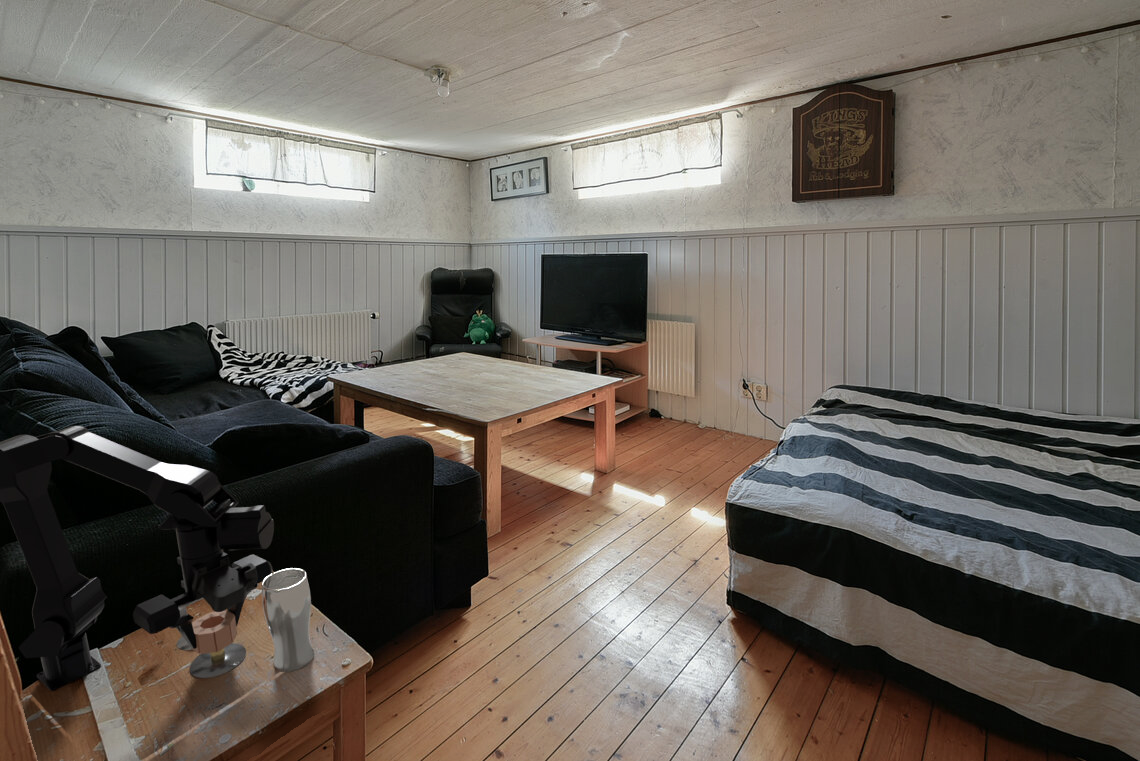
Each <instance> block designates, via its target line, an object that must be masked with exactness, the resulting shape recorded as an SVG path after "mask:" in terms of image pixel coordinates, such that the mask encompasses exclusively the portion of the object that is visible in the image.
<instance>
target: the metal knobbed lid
mask: <svg viewBox="0 0 1140 761" xmlns="http://www.w3.org/2000/svg"><path fill="white" fill-rule="evenodd" d="M176 648H177V649H179V650H180V651H181V650H183V651H191V650H193V649H192V648H191V647H190V645H189V644H188V643H187V641H186V640H185V639H184V637H183V636H182V635H181V636H180V638H179V639H178V640H177V641H176Z"/></svg>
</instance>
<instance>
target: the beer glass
mask: <svg viewBox="0 0 1140 761" xmlns="http://www.w3.org/2000/svg"><path fill="white" fill-rule="evenodd" d="M307 575H308V574H307V572H306V570H304V569H302V568H297V567H294V568H293V567H290V568H284V569H283V568H282V569H281V570H280V569H279V570H277V571H274V572H273V573H272V574H270V575H269V576H267V577H266V578H265V579H264V580H263V581H262V582H261V593H262V594H261V596H262V598H261V599H262V609H263V616H264V618H265V623H266V626H267V627H268V631H269V634H270V635H271V640H272V643H273V648H274V654H273V655H274V656H273V666H274V667H275V669H278V670H279V671H280V672H282V673H290V672H291V673H292V672H294V671H298V670H300V669H302V668H304V667H306V666H307V665H308V664H309V663H310V662H311V661H312V660H313V658H314V655H315V652H314V648H313V645H312V643H311V638H310V627H311V626H310V625H311V624H310V623H311V614H312V601H311V600H312V597H311V596H312V595H311V590H310V585H309V581H308V576H307Z"/></svg>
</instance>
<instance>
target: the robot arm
mask: <svg viewBox="0 0 1140 761" xmlns="http://www.w3.org/2000/svg"><path fill="white" fill-rule="evenodd" d="M56 460H64V461H66V462H69V463H71V464H74V465H76V466H79V467H81V468H84V469H86V470H88V471H91V472H92V473H93V472H94V473H95V474H98V475H101V476H103V477H106V478H108V479H111V480H113V481H116V482H118V483H121V484H124V485H125V486H128V487H131V488H133V489H136V490H139V491H140V492H141V493H143V494H145V495H146V496H147V497H148V498H149V500H150V501H151V502H152V504H153V505H154V506H156V508H159V510H162V511H164V512H166V513H167V514H168V516H167V517H166V519H165V520H164V521H163V522H162V523H161V524H159V527H158V528H159V530H163V531H165V530H175V532H176V533H175V535H176V540H177V545H178V551H179V556H178V557H176V561H177V564H178V565H179V566H181V571H182V577H183V580H181V581H180V585H181V588H183V589H184V590H185V592H184V593H182V594H179V595H177V596H176V597H173V598H171V599H170V598H169V597H167V596H165V595H164V594H159V595H157V596H154V597H153V598H150V599H148V600H144V601H143V602H141V603H138V604H137V605H136V606H135V607H134V610H133V612H132V617H133V621H134V622H133V623H134V624H136V626H139V627H140V628H141V629H142V630H144V631H145V632H146V633H148V634H150V635H154V634H158V633H159V632H162V631H164V630H166V629H168V628H170V629H176V630H177V631H178V632H179V634H180V635H181V637H182V636H183V637H184V639H185V640H186V641H187V643H188V644H189V645H190V647H191V648H193V649H195V648H197V644H196V637H195V634H194V630H193V626H192V623H193V622H194V619H195V618H194V616H192V614H191V615H190V614H189V613H188V610H187V608H188V606H191V605H193V604H195V603H196V602H199V601H201V600H205V602H206V603H207V604H208V605H209V606H210V607H211V609H212V611H213V612H222V611H225V610H226V611H229V612H231V613H233V614H234V615H235V621H236V628H237V627H238V624H239V620H240V617H241V614H242V610H243V607H244V605H245V604H244V603H245V600H246V598H247V596H248V595H249V594H250V593H252V591H254V590H255V589H257V588H258V586H259V584H260V583H262V582H263V580H264V579H265V578H266V577H267V576H269V575H270V574H272V573H274V572H273V571H274V570H273V566H272V564H271V562H270V561H269V560H266V559H264V558H262V557H259V556H258V555H255V554H254V553H253V554H250V555H248V556H245V557H243V558H240V559H239V560H237V561H234V562H232V564H231V563H230V558H229V556H228V553H226V552H224V550H225V551H228V552H229V551H243V550H244V551H245V550H247V551H249V550H250V551H251V550H265V549H268V548H269V547H270V545H271V543H272V542H273V537H274V532H275V520H274V518H272V515H271V513H270V512H268V511H266V506H265V505H264V504H263V505H261V504H260V505H259V504H258V505H253V506H246V507H244V506H240V507H239V506H238V507H236V506H237V505H238V504H239V501H238V500H237V498H236V497H235V496H233V494H231V493H230V491H229V490H227V489H226V488H225V487H224V486H223V485H222V484H221V483H220V481H219V479H218V478H219V477H218V475H217V474H215V473H214V472H212V471H210V470H207V469H204V468H200V467H197V466H192V465H188V464H174V463H166V462H162V461H159V460H157V459H155V458H152V457H150V456H148V455H145V454H142V453H141V452H138V451H136V450H133V449H131V448H129V447H126V446H124V445H123V444H122V445H121V444H120V443H119V444H118V443H116V442H115V441H111V440H109V439H107V438H105V437H102V436H100V435H97V434H95V433H93V432H91V431H90V430H89V429H88V428H86V427H85V426H81V425H70V426H68V427H65V428H63V429H61V430H56V431H52V432H49V433H46V434H41V435H38V436H33V435H29V434H18V435H15V436H13V437H11V438H7V439H5V440H2V441H0V503H1V504H2V506H3V507H4V510H5V511H6V513H7V516H8V519H9V521H10V524H11V527H12V529H13V532H14V535H15V536H16V537H15V538H16V539H17V542H18V544H19V547H20V550H21V552H22V554H23V557H24V560H25V563H26V564H27V567H28V569H29V571H30V575H31V577H32V580H33V583H34V585H35V587H36V592H35V596H34V600H33V605H32V610H31V615H32V620H33V625H34V631H33V632H31V633H30V635H29V636H28V637H27V638H25V640H24V641H23V642H22V643H21V644H20V645H19V646H18V650H19V651H20V653H21V654H22V655H23V657H24V658H25V659H36V658H37V659H38V658H40V661H41V666H42V669H43V671H41V672H39V673H37V674H36V678H37V679H38V680H39V681H40V682H41V683H42V684H43V685H44V686H45V687H46V689H48V690H49V691H50V692H54V691H57V690H59V689H60V688H62V687H64V686H67V685H69V684H70V683H73V682H75V681H76V680H78V679H79V680H80V678H83V677H85V676H87V675H88V674H91V673H92V672H94V671H97V670H98V669H100V668H102V664H101V663H100V662H99V661H98V660H96V659H95V658H94V657H93V656H92V655H91V651H90V646H89V642H88V636H87V633H86V632H87V631H86V630H89V628H90V627H91V626H92V625H94V624H95V623H96V622H97V620H98V616H100V614H101V613H102V611H103V609H104V608H105V604H106V603H105V600H106V599H107V598H108V595H106V593H105V592H104V591H103V589H102V584H101V580H100V578H99V577H98V576H96V577H91V578H90V579H89V578H88V577H86V576H85V575H83V574H81V573H80V572H79V571H78V569H77V567H76V563H75V561H74V559H73V556H72V554H71V551H70V548H69V545H68V542H67V540H66V538H65V535H64V533H63V530H62V527H61V524H60V521H59V518H58V516H57V514H56V511H55V508H54V505H53V503H52V499H51V497H50V494H49V492H48V487H49V484H50V479H51V474H52V471H53V466H52V462H53V461H56ZM213 502H214V503H215V505H214V506H213V507H212V508H210V509H209V510H208V511H207V510H206V509H205V508H207V507H208V506H209V505H210V504H211V503H213ZM193 649H192V650H193ZM86 674H87V675H86ZM84 675H85V676H84Z"/></svg>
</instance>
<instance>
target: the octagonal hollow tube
mask: <svg viewBox="0 0 1140 761" xmlns="http://www.w3.org/2000/svg"><path fill="white" fill-rule="evenodd" d="M192 626H193V630H194V634H195V637H196V644H197V648H195V649H193V648H192V650H193V651H194V652H196V653H197V654H198V655H200V654H205V653H212V652H216V651H219V650H221V649H223V648H225V647H226V646H228V645H230V644H232V643H234V641H235V639H236V637H237V635H238V630H237V629H238V628H237V627H236V621H235V615H234V614H233V613H231V612H229V611H228V610H227V609H226V610H225V611H222V612H215V611H211V612H208V613H206V614H204V615H202V616H200V617H198V618H196V619H195V620H193V621H192Z"/></svg>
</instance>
